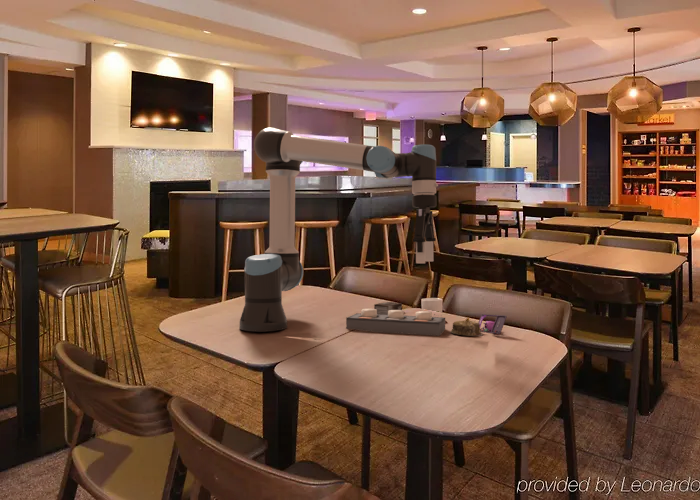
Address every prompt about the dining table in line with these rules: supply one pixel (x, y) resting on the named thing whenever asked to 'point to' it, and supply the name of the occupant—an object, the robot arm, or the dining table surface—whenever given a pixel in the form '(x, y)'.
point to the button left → (369, 313)
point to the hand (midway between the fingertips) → (425, 262)
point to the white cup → (432, 304)
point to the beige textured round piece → (466, 328)
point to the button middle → (396, 314)
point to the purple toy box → (493, 324)
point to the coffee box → (387, 307)
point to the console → (396, 324)
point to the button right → (424, 315)
